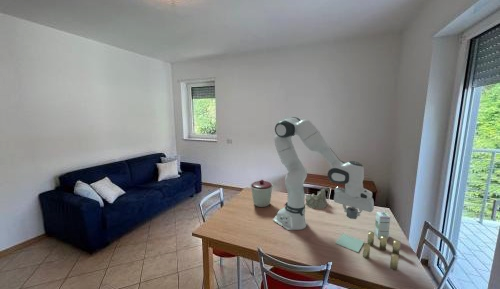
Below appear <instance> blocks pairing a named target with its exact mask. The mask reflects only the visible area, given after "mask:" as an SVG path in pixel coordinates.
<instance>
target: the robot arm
mask: <svg viewBox="0 0 500 289" xmlns="http://www.w3.org/2000/svg"><path fill="white" fill-rule="evenodd" d="M274 132H275V135H274V138H273V141H274V145H275V148H276V151H277V153H278V156H279V159H280V162H281V164H282V165H283V166H284V167H285V168H286V170H287V173H286V175H285V178H284V185H285V187H286V191H287V202H285V203H284V204H283V208H280V209H279V210H278V211H277V213H276V215H275V216H274V217H273V222H274V223H276V224H277V223H278V225H279V226H281V227H282V226H283V227H282V228H284V229H285V230H287V231H295V230H296V231H300V230H303V229H305V228H306V227H307V221H306V216H305V213H306V205H305V204H306V195H305V190H304V182H305V180H306V179H307V176H308V171H307V168H306V167H305V166H304V165H303V163H302V161H301V160H300V158H299V156H298V154H297V151H296V148H295V146H294V144H293V140H292V137H293V136H295V135H296V136H298V137H299V139H300V140H301V141H302V143H303V144H304V145H305V146H306V148H307V149H308V150H309V151H311V152H314V153H318V154H320V155H322V157H323V158H324V159H325V161H326V162H327V163H328V164H329V166H330V168H329V170H328V171H327V179H328V180H329V181H330V182H331V183H332V184H337V185H343V184H344V187H340V186H336V187H335V188H334V195H333V202H334V203H337V204H339V205H342V208H343V209H344V211H343V212H344V213H346V214H347V208H348V207H353V208H356V209H358V212H357V216H358V217H361V213H362V212H363V211H365V212H369V213H372V212H373V211H374V209H375V201H374V198H373V192H372V191H370V190H368V189H367V188H364V183H363V182H364V179H365V168H364V165H363V164H362V163H360V162H358V161H354V160H349V161H347V162H345V161H343V160H341V159H340V158H339V157H338V156H337V154H336V153H335V152H334V151H333V149H332V148H331V147H330V146H329V145H328V143H327V142H326V140H325V137H323V135H322V134H321V132H320V131H319V130H318V128H317V127H316V125H314V124H313V123H312V121H310V120H309V119H306V118H305V119H300V118H299V117H295V116H292V117H291V116H290V117H287V118H285V119H282V120H280V121H278V122H277V123H276V124H275V127H274ZM347 206H348V207H347Z"/></svg>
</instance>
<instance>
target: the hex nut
mask: <svg viewBox="0 0 500 289" xmlns="http://www.w3.org/2000/svg"><path fill="white" fill-rule="evenodd" d="M346 208H347V213H346V214H345V216H346V217H347V218H348V219H351V220H357V219H358V217H359V216H357V212H359V209H357V208H353V207H350V206H348V207H346Z"/></svg>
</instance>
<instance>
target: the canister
mask: <svg viewBox="0 0 500 289" xmlns="http://www.w3.org/2000/svg"><path fill="white" fill-rule="evenodd" d="M273 186H274V184H273V183H272V182H270V181H267V180H264V179H259V180H257V181H254V182H252V183H251V184H250V188H251V195H252V201H253V204H254V205H255V206H256V207H259V208H266V207H268V206H269V205H270V203H271V198H272V190H273Z"/></svg>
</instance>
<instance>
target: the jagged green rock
mask: <svg viewBox="0 0 500 289" xmlns="http://www.w3.org/2000/svg"><path fill="white" fill-rule="evenodd" d="M304 204H305V206H306V205H307V207H309V208H311V207H312V209H316V210H317V209H319V210H320V209H321V210H322V209H323V210H324V209H325V208H326V207H327V205H328V201H327V197H326V190H325V189H320V190H319V191H318V190H317V195H315V193H312V194H311V193H310V194H309V195H307V194H306V195H305V203H304Z"/></svg>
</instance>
